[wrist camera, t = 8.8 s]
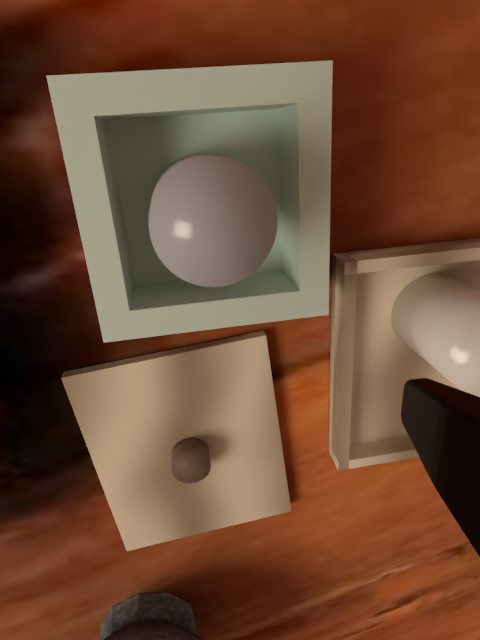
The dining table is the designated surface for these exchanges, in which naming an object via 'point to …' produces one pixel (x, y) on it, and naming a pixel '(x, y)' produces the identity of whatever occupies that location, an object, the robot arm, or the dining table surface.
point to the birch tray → (380, 346)
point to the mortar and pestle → (150, 619)
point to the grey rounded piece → (211, 220)
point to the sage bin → (207, 139)
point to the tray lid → (184, 438)
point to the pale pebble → (442, 327)
